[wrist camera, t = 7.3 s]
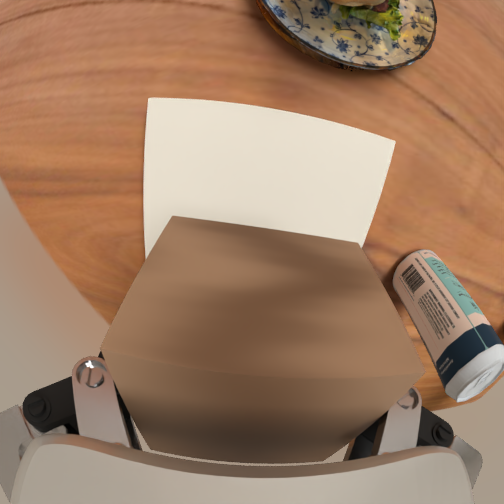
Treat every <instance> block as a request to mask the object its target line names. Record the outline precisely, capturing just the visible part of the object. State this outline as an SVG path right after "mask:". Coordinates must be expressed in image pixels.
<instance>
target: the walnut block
mask: <svg viewBox="0 0 504 504" xmlns="http://www.w3.org/2000/svg"><path fill="white" fill-rule="evenodd" d="M100 349H101V352H102V354H103V357H104V359H105V362H106V364H107V366H108V369H109V371H110V373H111V376H112V378H113V380H114V382H115V385H116V387H117V389H118V391H119V393H120V395H121V397H122V399H123V401H124V403H125V405H126V407H127V409H128V411H129V413H130V415H131V417H132V419H133V420H134V422H135V424H136V426H137V428H138V429H139V431H140V433H141V435H142V436H143V438H144V439H145V441H146V443H147V445H148V446H149V448H150V449H151V450H155V451H160V452H164V453H170V454H175V455H180V456H186V457H192V458H200V459H207V460H216V461H227V462H240V463H272V464H274V463H305V462H318V461H324V460H325V459H327V458H328V457H330V456H331V455H333V454H334V453H336V452H337V451H338V450H340V449H341V448H342V447H344V446H345V445H347V444H348V443H349V442H351V441H352V440H353V439H354V438H356V437H357V436H358V435H360V434H361V433H362V432H363V431H364V430H366V429H367V428H368V427H369V426H371V425H372V424H373V423H374V422H375V421H376V420H378V419H379V418H380V417H381V416H382V415H383V414H384V413H385V412H387V411H388V410H389V409H390V408H391V407H392V406H393V405H394V404H395V403H396V402H397V401H398V400H399V399H400V398H401V397H402V396H403V395H404V394H405V393H406V392H407V391H408V390H409V389H410V388H411V387H412V386H413V385H414V384H415V383H416V382H417V381H418V380H419V379H420V378H421V377H422V376H423V374H424V373H425V372H426V371H425V369H424V366H423V364H422V362H421V360H420V357H419V355H418V353H417V351H416V349H415V347H414V344H413V342H412V340H411V338H410V336H409V334H408V332H407V330H406V328H405V326H404V324H403V322H402V320H401V318H400V316H399V314H398V312H397V310H396V308H395V306H394V305H393V303H392V301H391V299H390V297H389V295H388V293H387V292H386V290H385V288H384V286H383V284H382V283H381V281H380V279H379V277H378V275H377V274H376V272H375V270H374V269H373V267H372V265H371V263H370V262H369V260H368V258H367V257H366V255H365V253H364V252H363V250H362V248H361V247H360V245H359V244H358V243H357V242H351V241H345V240H339V239H333V238H327V237H320V236H314V235H308V234H301V233H295V232H289V231H282V230H275V229H269V228H262V227H255V226H248V225H241V224H234V223H226V222H219V221H211V220H204V219H196V218H188V217H180V216H172V217H171V219H170V220H169V222H168V223H167V225H166V227H165V228H164V230H163V231H162V233H161V235H160V236H159V238H158V240H157V241H156V243H155V245H154V246H153V248H152V250H151V251H150V253H149V255H148V257H147V258H146V260H145V262H144V263H143V265H142V267H141V269H140V271H139V272H138V274H137V276H136V278H135V280H134V281H133V283H132V285H131V287H130V289H129V291H128V293H127V294H126V296H125V298H124V300H123V302H122V304H121V306H120V308H119V310H118V312H117V314H116V316H115V318H114V320H113V322H112V324H111V326H110V328H109V330H108V332H107V334H106V336H105V338H104V340H103V343H102V345H101V347H100Z"/></svg>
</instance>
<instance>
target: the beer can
mask: <svg viewBox="0 0 504 504" xmlns="http://www.w3.org/2000/svg"><path fill="white" fill-rule="evenodd" d="M393 287H394V289H395V291H396V292H397V294H398V296H399V298H400V299H401V301H402V303H403V305H404V306H405V308H406V310H407V312H408V314H409V316H410V318H411V319H412V321H413V323H414V325H415V327H416V329H417V331H418V333H419V335H420V337H421V339H422V341H423V343H424V345H425V347H426V349H427V351H428V353H429V355H430V357H431V359H432V362H433V364H434V366H435V368H436V370H437V373H438V375H439V377H440V379H441V382H442V384H443V386H444V389H445V392H446V394H447V395H449V396H450V397H451V398H453V399H454V400H456V401H457V402H461V401H466V400H468V399H470V398H472V397H473V396H475V395H477V394H479V393H480V392H481V391H483V390H484V389H485V388H487V387H488V386H489V385H490V384H491V383H493V382H494V381H495V379H496V378H497V377H498V376H499V375H500V374H501V373H502V372H503V370H504V345H503V343H502V342H501V340H500V339H499V337H498V335H497V334H496V332H495V331H494V329H493V328H492V326H491V325H490V323H489V322H488V320H487V319H486V317H485V316H484V314H483V313H482V312H481V310H480V309H479V307H478V306H477V305H476V303H475V302H474V301H473V299H472V298H471V297H470V295H469V294H468V293H467V291H466V290H465V289H464V287H463V286H462V285H461V284H460V282H459V281H458V280H457V279H456V277H455V276H454V275H453V274H452V273H451V271H450V270H449V269H448V268H447V267H446V265H445V264H444V263H443V262H442V261H441V260H440V258H439V257H438V256H437V255H436V254H435V253H434V252H432V251H430V250H418V251H415V252H413V253H411V254H410V255H408V256H407V257H406V258H405V259H404V260H403V261H402V262H401V263H400V264H399V265H398V267H397V269H396V271H395V273H394V276H393Z"/></svg>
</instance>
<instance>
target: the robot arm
mask: <svg viewBox="0 0 504 504" xmlns="http://www.w3.org/2000/svg"><path fill="white" fill-rule="evenodd" d="M421 405H422V398H421V395H420V393H419V391H418V390H417V388H415V387H414V386H412V387H411V388H410V389H409V390H408V391H407V392H406V393H405V394H404V395H403V396H402V397H401V398H400V399H399V400H398V401H397V402H396V403H395V404H394V405H393V406H392V407H391V408H390V409H389V410H388V411H387V412H385V413H384V414H383V415H382V416H381V417H380V418H379V419H378V420H376V421H375V422H374V423H373V424H372V425H371V426H369V427H368V428H367V429H366V430H364V431H363V432H362V433H361V434H360V435H358V436H357V437H356V438H354V439H353V440H352V441H351V442H350V443H349V446H348V449H347V451H346V454H345V457H344V459H343V461H342V462H334V463H326V464H314V465H300V466H241V465H227V464H216V463H207V462H198V461H192V460H185V459H178V458H173V457H168V456H163V455H158V454H153V453H149V452H144V451H142V448H141V445H140V442H139V439H138V436H137V433H136V429H135V426H134V423H133V419H132V417H131V415H130V413H129V411H128V409H127V407H126V405H125V403H124V401H123V399H122V397H121V395H120V393H119V391H118V389H117V387H116V385H115V382H114V380H113V378H112V376H111V373H110V371H109V369H108V366H107V364H106V362H105V359H104V357H103V354H102V352H100V354H99V356H98V357H86V358H83V359H81V360H80V361H78V362H77V363H76V365H75V366H74V368H73V370H72V376H71V377H68V378H66V379H64V380H61V381H59V382H56V383H54V384H51V385H49V386H47V387H44V388H41V389H39V390H36V391H34V392H32V393H30V394H28V396H27V397H26V398H25V400H24V402H23V405H22V406H20V407H19V406H18V405H15V406H13V407H11V408H9V409H7V410H5V411H3V412H1V413H0V484H1V486H2V488H3V490H4V492H5V494H6V496H7V498H8V500H9V502H10V504H475V503H474V497H473V492H472V489H473V487H474V484H475V482H476V479H477V477H478V475H479V472H480V469H481V467H482V456H481V454H480V453H479V452H478V451H477V450H476V449H474V448H473V447H472V446H470V445H469V444H468V443H466V442H465V441H464V440H462V439H461V438H460V437H458V436H457V435H456V436H454V435H453V430H452V428H451V426H450V425H449V424H448V423H447V422H446V421H444V420H443V419H441V418H440V417H438V416H437V415H435V414H433V413H432V412H430V411H429V410H427V409H426V408H424V407H423V406H421Z"/></svg>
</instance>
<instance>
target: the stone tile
mask: <svg viewBox="0 0 504 504" xmlns="http://www.w3.org/2000/svg"><path fill="white" fill-rule="evenodd" d="M395 143H396V141H393V140H391V139H388V138H385V137H382V136H379V135H376V134H373V133H370V132H367V131H364V130H361V129H357V128H354V127H351V126H347V125H343V124H340V123H336V122H332V121H329V120H325V119H321V118H316V117H312V116H308V115H303V114H299V113H294V112H289V111H284V110H278V109H273V108H267V107H261V106H254V105H247V104H240V103H231V102H222V101H212V100H200V99H183V98H149V99H148V109H147V120H146V134H145V152H144V237H145V256H146V258H147V257H148V255H149V253H150V251H151V250H152V248H153V246H154V245H155V243H156V241H157V240H158V238H159V236H160V235H161V233H162V231H163V230H164V228H165V227H166V225H167V223H168V222H169V220H170V219H171V217H172V216H180V217H188V218H196V219H204V220H211V221H219V222H226V223H234V224H241V225H248V226H255V227H262V228H269V229H275V230H282V231H289V232H295V233H301V234H308V235H314V236H320V237H327V238H333V239H339V240H345V241H351V242H357V243H358V244H359V245H360V247H361V248H362V246H363V243H364V241H365V238H366V235H367V233H368V230H369V227H370V224H371V221H372V219H373V216H374V213H375V210H376V207H377V204H378V201H379V198H380V195H381V191H382V188H383V185H384V182H385V178H386V175H387V172H388V168H389V165H390V161H391V158H392V154H393V150H394V146H395Z"/></svg>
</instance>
